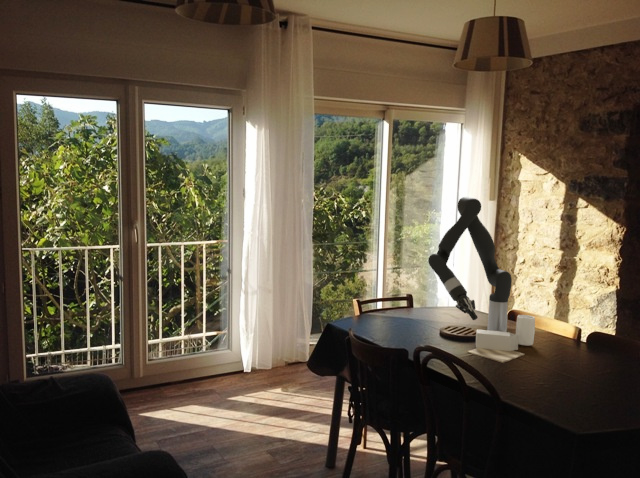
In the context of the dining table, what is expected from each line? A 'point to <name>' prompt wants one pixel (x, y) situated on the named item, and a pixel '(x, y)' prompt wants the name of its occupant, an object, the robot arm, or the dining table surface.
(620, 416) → the dining table surface
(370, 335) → the dining table surface
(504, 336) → the milk carton
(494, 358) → the birch board
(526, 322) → the cup
